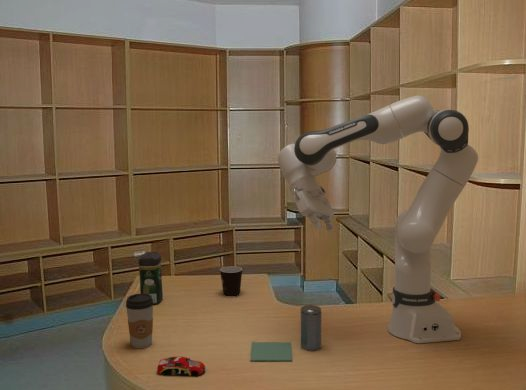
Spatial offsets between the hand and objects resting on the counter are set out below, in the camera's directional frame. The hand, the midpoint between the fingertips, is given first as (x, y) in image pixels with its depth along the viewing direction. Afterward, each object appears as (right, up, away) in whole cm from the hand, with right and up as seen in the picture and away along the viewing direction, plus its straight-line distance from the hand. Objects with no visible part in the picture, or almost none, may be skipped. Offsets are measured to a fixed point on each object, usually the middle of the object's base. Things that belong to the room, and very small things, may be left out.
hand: (325, 229), depth 168 cm
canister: (-5, -35, -3) cm, 36 cm away
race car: (-42, -39, -18) cm, 60 cm away
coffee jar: (-61, -30, +38) cm, 78 cm away
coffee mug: (-31, -28, +46) cm, 62 cm away
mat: (-17, -36, -6) cm, 40 cm away
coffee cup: (-57, -36, 0) cm, 67 cm away
